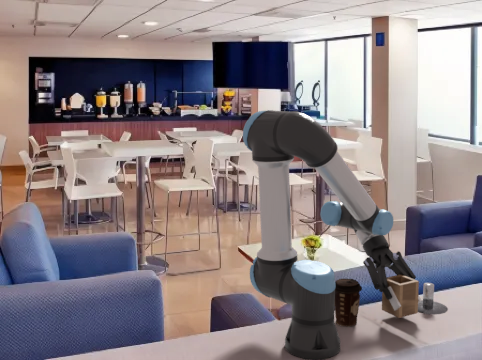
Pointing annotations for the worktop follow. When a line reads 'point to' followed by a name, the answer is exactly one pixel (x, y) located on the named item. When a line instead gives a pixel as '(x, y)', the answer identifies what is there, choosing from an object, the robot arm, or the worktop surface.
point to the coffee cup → (347, 301)
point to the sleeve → (402, 296)
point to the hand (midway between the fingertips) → (408, 305)
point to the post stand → (430, 302)
